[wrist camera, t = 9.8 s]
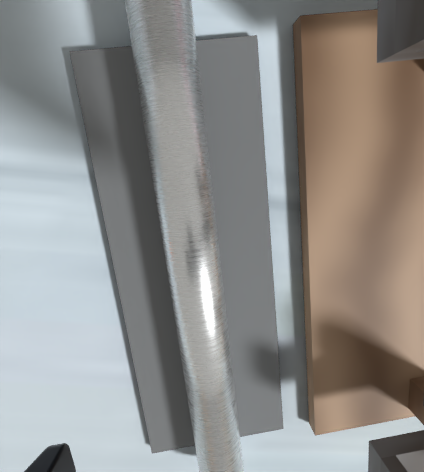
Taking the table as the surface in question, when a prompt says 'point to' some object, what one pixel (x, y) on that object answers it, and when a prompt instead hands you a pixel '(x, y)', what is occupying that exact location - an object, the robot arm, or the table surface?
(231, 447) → the steel rail
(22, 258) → the table surface
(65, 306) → the table surface
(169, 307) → the rubber mat
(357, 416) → the hook stand
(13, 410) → the table surface
